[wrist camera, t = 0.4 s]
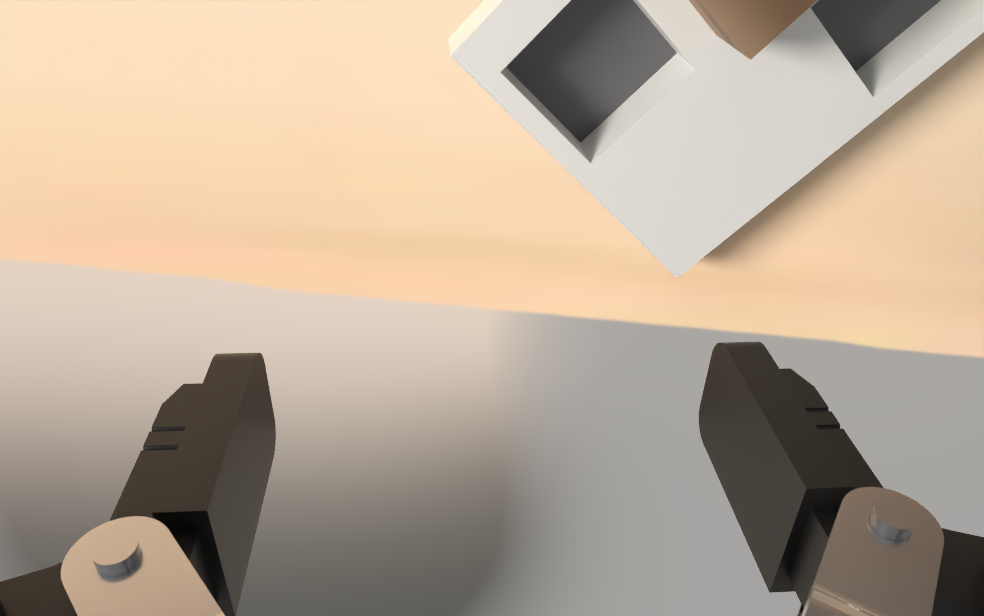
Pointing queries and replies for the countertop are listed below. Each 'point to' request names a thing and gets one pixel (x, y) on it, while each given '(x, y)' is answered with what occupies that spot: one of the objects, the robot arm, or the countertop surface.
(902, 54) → the box
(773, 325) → the countertop surface
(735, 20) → the walnut block
